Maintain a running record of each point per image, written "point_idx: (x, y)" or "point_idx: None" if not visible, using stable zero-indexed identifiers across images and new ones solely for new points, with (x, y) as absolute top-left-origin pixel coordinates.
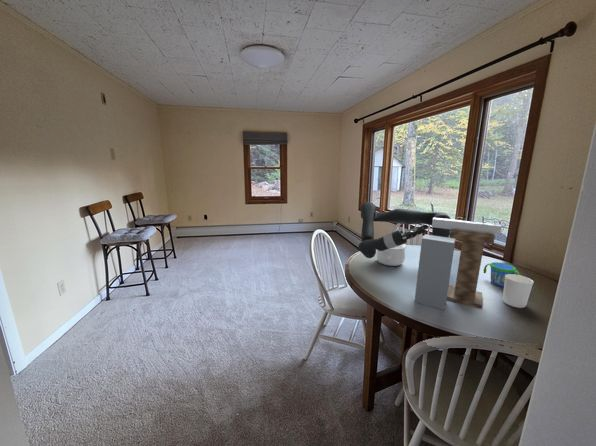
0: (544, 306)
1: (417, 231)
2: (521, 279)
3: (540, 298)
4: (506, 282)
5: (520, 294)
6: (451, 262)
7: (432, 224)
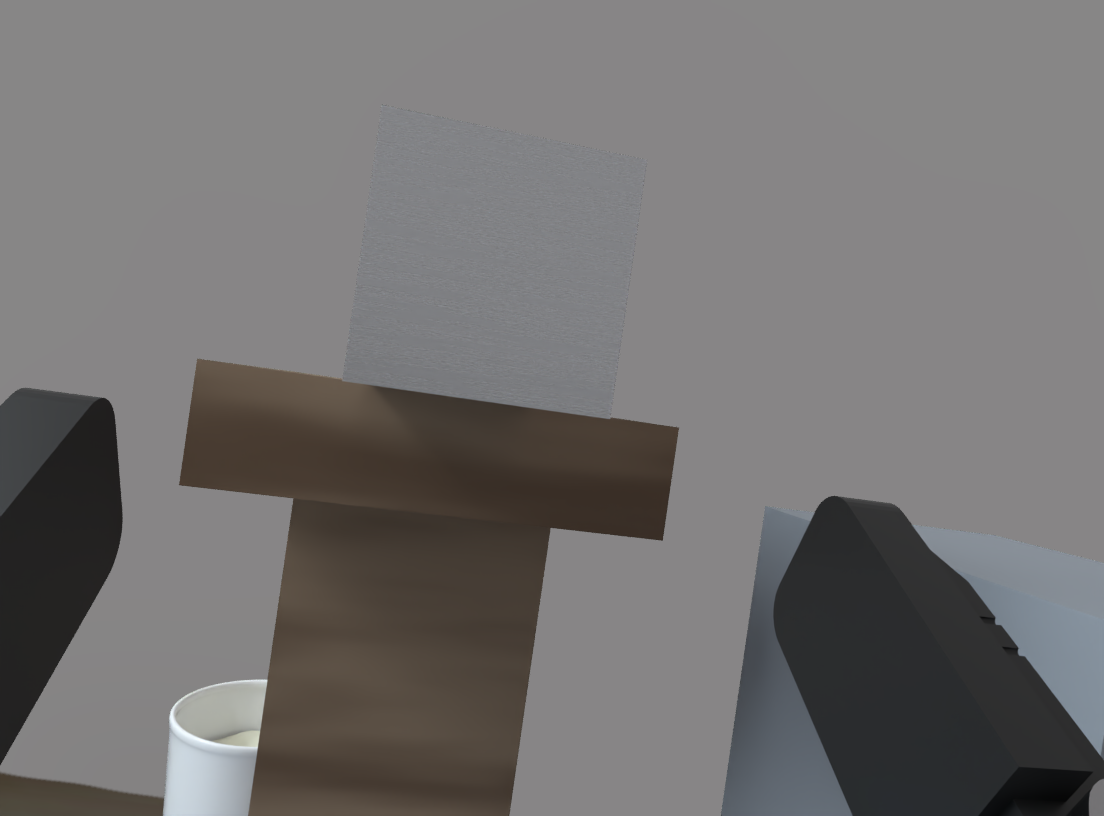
0: None
1: (1074, 739)
2: (188, 722)
3: (76, 803)
4: None
5: None
6: None
7: (619, 336)
